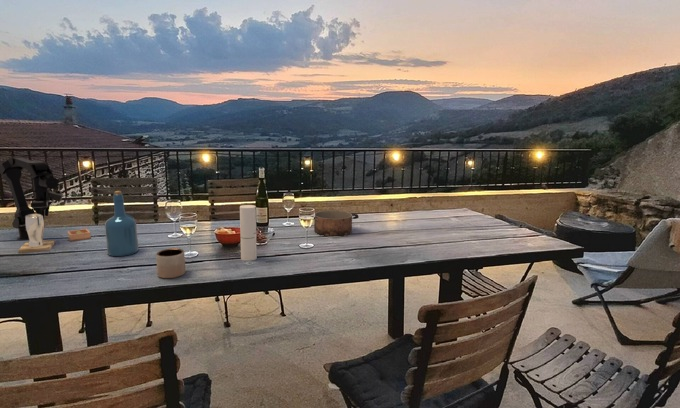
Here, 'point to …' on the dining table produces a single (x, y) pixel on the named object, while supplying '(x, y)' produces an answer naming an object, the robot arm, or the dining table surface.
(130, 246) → the wine bottle
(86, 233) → the terracotta dish
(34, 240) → the metal goblet
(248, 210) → the cylindrical container
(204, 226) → the dining table surface
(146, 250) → the dining table surface
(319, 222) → the cooking pot
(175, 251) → the planter
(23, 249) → the oak board
